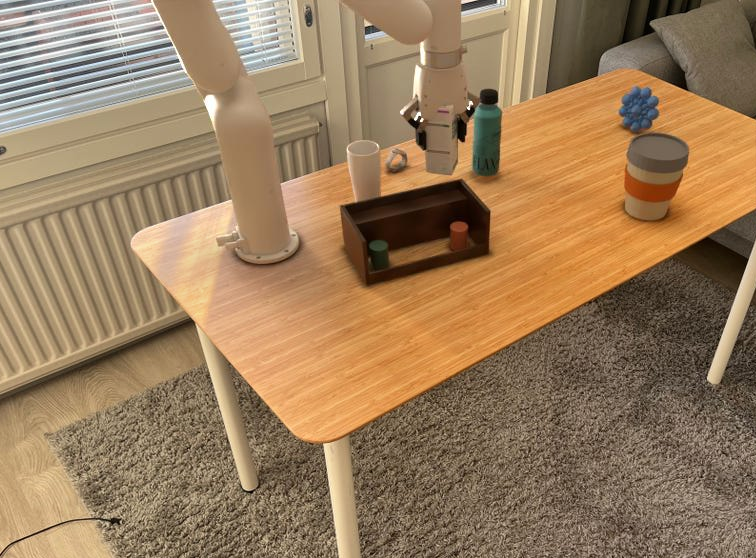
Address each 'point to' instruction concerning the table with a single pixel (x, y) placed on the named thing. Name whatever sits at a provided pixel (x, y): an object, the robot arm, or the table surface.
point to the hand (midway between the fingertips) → (441, 143)
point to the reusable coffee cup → (653, 173)
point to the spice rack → (414, 226)
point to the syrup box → (442, 142)
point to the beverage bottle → (487, 134)
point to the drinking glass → (364, 169)
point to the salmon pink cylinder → (458, 236)
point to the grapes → (639, 109)
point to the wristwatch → (391, 157)
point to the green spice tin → (379, 255)
